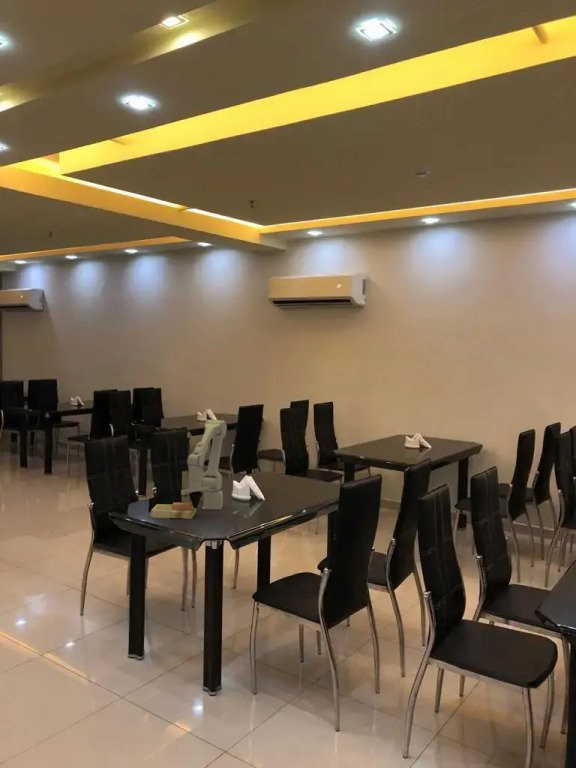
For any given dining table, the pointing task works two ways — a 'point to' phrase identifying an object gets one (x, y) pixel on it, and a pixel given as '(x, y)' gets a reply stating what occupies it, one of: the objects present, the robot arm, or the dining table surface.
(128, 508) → the dining table surface
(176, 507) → the tile
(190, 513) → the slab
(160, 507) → the tray
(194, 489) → the robot arm
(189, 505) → the tile
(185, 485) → the coffee box
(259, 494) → the dining table surface
